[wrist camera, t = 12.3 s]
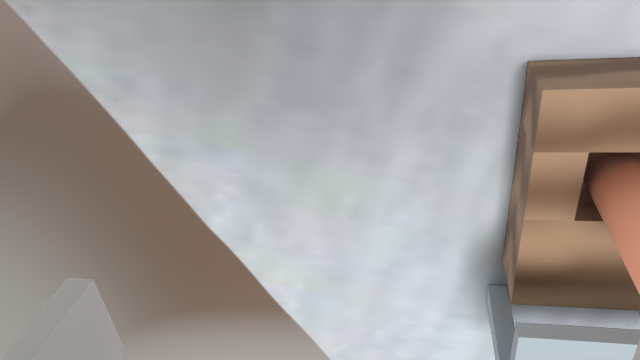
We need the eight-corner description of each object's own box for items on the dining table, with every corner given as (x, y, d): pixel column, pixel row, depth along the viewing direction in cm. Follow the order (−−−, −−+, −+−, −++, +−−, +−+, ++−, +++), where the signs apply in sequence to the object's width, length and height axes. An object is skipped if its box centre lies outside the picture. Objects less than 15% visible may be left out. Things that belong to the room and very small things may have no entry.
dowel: (577, 126, 36) (650, 256, 25) (639, 126, 35) (744, 259, 24) (568, 173, 38) (632, 313, 27) (626, 174, 38) (717, 318, 26)
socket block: (528, 61, 34) (543, 89, 30) (728, 54, 32) (773, 84, 28) (502, 261, 44) (511, 303, 40) (655, 266, 42) (681, 312, 37)
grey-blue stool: (495, 219, 42) (518, 337, 32) (684, 223, 39) (776, 353, 29) (486, 297, 46) (504, 421, 36) (654, 306, 44) (724, 442, 34)
